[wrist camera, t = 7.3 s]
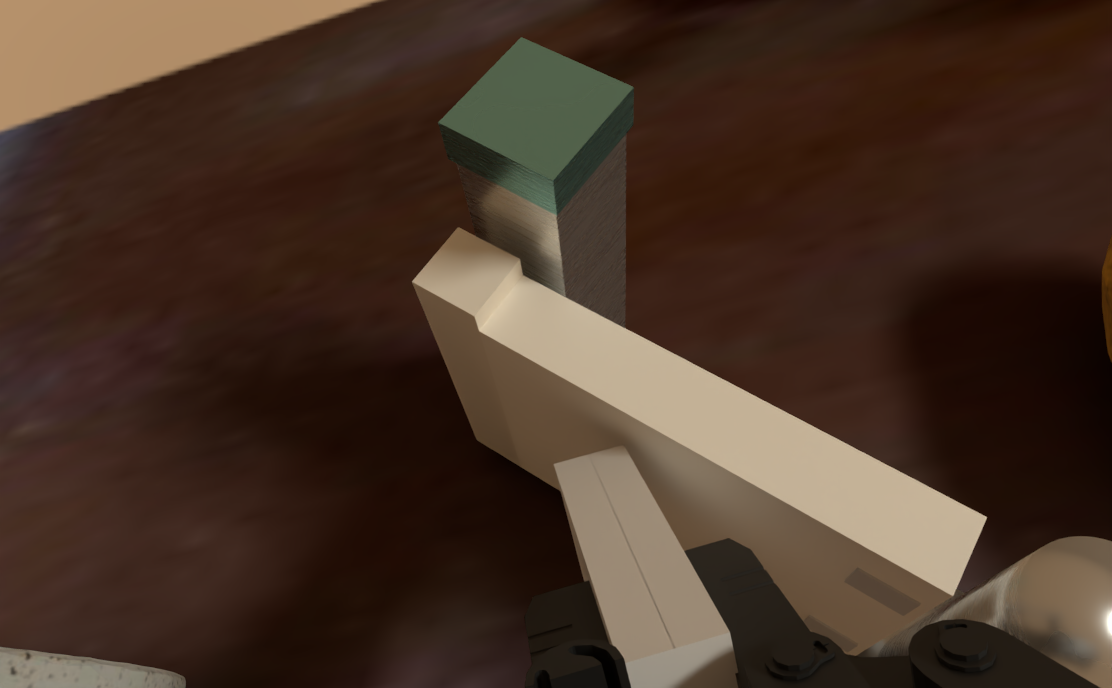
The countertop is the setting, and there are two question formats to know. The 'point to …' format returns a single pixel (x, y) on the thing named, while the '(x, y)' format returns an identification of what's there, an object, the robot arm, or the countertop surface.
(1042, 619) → the gate posts
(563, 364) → the gate
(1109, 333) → the potato
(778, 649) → the robot arm
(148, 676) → the ceramic mug
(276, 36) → the countertop surface
